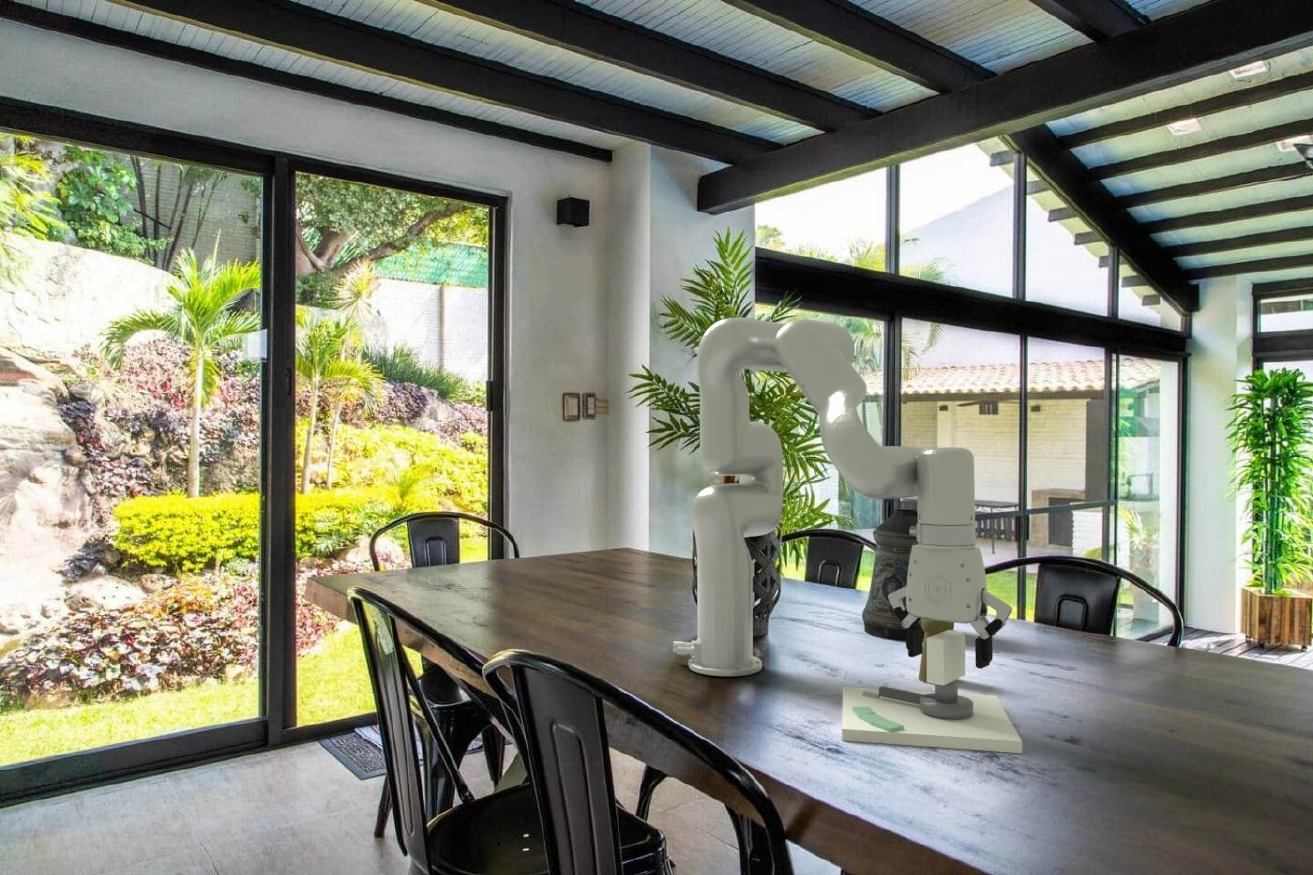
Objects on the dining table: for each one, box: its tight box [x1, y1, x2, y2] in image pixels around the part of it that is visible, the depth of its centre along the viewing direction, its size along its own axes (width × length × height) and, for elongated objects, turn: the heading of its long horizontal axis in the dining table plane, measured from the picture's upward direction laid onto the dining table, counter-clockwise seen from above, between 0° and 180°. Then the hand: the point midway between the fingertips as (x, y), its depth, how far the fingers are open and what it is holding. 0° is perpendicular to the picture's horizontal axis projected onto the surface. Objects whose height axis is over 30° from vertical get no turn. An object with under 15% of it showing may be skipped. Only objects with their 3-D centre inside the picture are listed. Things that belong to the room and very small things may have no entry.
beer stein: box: [861, 509, 925, 642], centre depth 178 cm, size 16×19×25 cm
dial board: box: [841, 686, 1023, 754], centre depth 121 cm, size 22×20×2 cm
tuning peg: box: [878, 630, 973, 719], centre depth 123 cm, size 14×7×10 cm, turn 48°
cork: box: [918, 619, 955, 685], centre depth 143 cm, size 6×6×11 cm
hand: (948, 660), depth 121 cm, fingers open, 9 cm apart
